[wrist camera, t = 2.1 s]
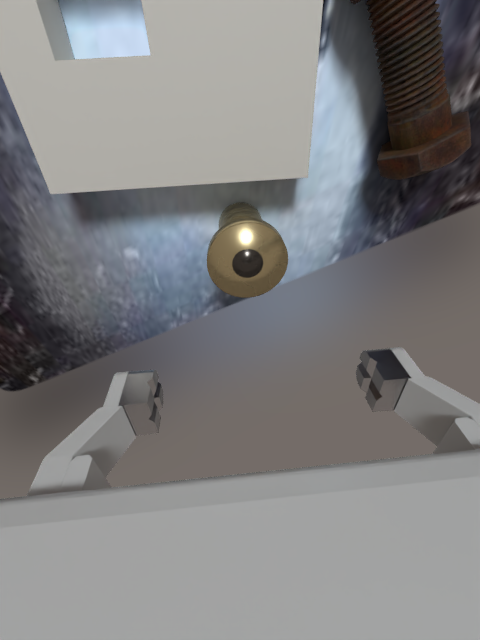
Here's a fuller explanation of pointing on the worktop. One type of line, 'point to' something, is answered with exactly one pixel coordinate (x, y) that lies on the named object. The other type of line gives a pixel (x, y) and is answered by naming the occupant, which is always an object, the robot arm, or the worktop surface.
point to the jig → (168, 95)
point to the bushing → (246, 253)
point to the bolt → (415, 90)
